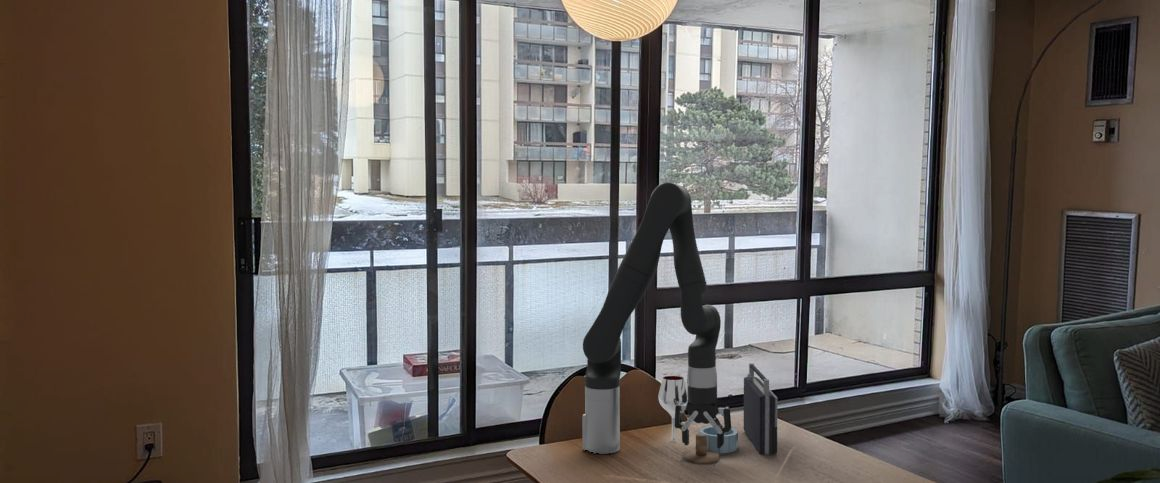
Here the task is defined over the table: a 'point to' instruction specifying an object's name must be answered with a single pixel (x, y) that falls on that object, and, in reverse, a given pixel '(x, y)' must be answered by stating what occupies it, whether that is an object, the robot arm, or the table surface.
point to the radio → (760, 412)
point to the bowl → (729, 440)
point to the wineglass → (672, 396)
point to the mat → (704, 464)
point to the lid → (701, 452)
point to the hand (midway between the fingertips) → (702, 446)
